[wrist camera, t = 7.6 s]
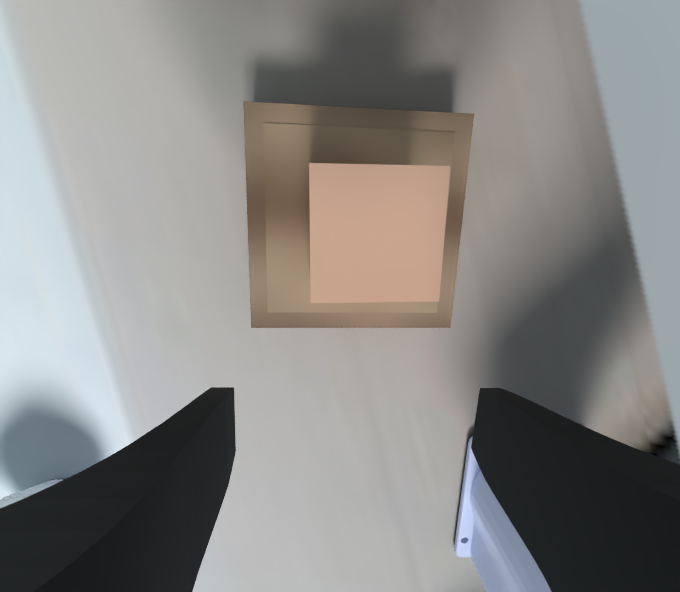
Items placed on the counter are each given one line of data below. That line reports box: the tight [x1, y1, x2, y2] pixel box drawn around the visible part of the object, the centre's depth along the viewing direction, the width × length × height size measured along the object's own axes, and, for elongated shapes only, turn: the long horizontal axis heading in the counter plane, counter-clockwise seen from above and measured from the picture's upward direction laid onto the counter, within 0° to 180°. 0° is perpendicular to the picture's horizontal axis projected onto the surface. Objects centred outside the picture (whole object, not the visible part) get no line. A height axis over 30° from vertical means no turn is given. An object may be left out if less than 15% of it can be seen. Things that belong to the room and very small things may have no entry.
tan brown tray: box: [244, 101, 474, 328], centre depth 18 cm, size 10×10×2 cm
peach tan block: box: [309, 163, 450, 303], centre depth 14 cm, size 4×4×5 cm
